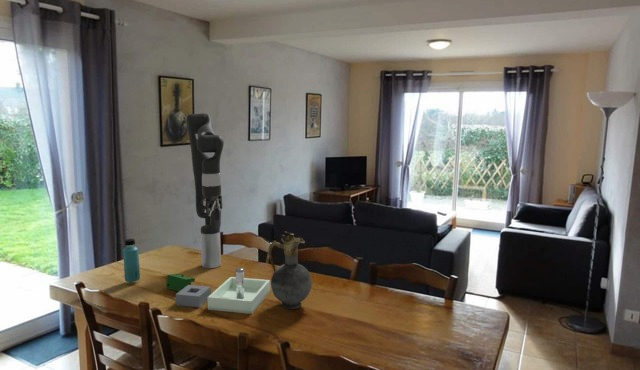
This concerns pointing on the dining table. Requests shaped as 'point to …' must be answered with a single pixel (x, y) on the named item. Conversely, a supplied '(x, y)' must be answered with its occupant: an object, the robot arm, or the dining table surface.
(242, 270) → the lock pin
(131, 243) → the beverage bottle
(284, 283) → the pitcher
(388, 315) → the dining table surface
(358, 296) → the dining table surface
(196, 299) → the block
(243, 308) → the tray
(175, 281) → the green irregular block
